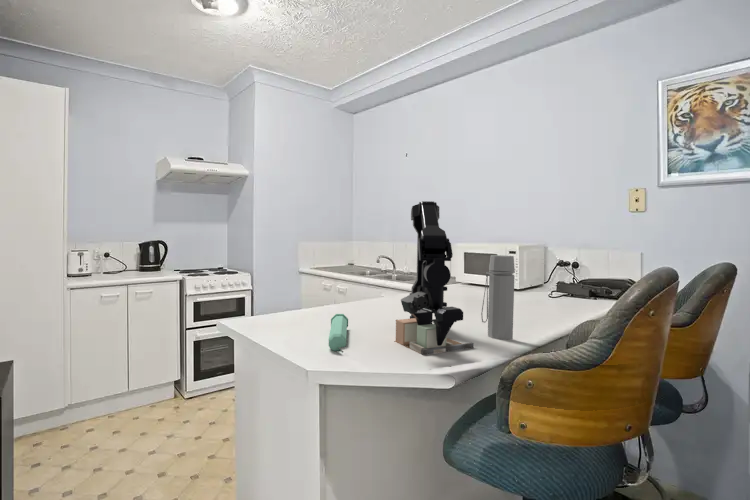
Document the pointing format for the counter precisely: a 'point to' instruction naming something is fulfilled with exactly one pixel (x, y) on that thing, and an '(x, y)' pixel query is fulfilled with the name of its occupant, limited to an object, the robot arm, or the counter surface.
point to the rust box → (406, 331)
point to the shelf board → (450, 346)
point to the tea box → (428, 336)
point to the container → (338, 332)
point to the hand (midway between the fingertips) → (431, 342)
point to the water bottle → (500, 297)
